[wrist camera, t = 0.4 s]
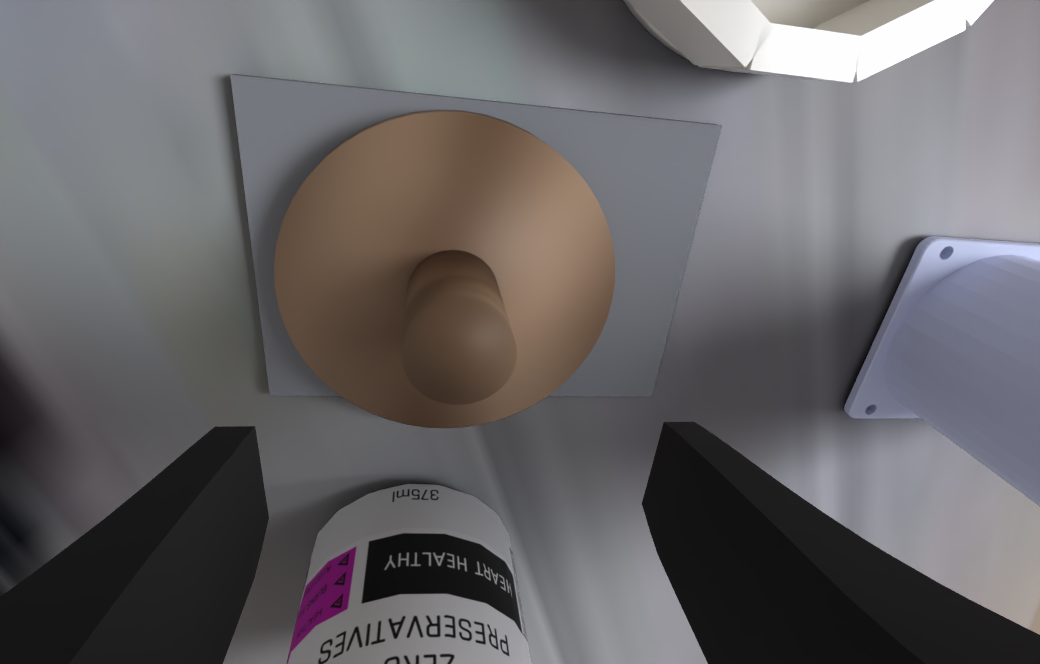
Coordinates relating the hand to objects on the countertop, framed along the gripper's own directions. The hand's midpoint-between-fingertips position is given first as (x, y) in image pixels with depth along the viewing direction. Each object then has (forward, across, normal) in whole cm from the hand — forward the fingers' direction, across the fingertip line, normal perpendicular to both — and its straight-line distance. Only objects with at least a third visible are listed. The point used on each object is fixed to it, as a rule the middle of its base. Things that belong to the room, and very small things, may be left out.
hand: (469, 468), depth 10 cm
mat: (+9, -1, 0) cm, 9 cm away
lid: (+9, 0, 0) cm, 9 cm away
